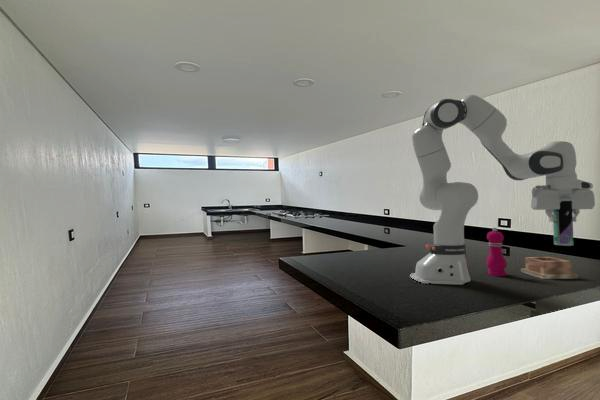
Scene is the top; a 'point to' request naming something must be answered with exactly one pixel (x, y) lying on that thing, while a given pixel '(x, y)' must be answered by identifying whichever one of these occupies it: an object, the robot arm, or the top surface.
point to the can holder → (549, 268)
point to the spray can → (563, 223)
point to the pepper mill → (496, 254)
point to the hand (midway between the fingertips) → (562, 221)
